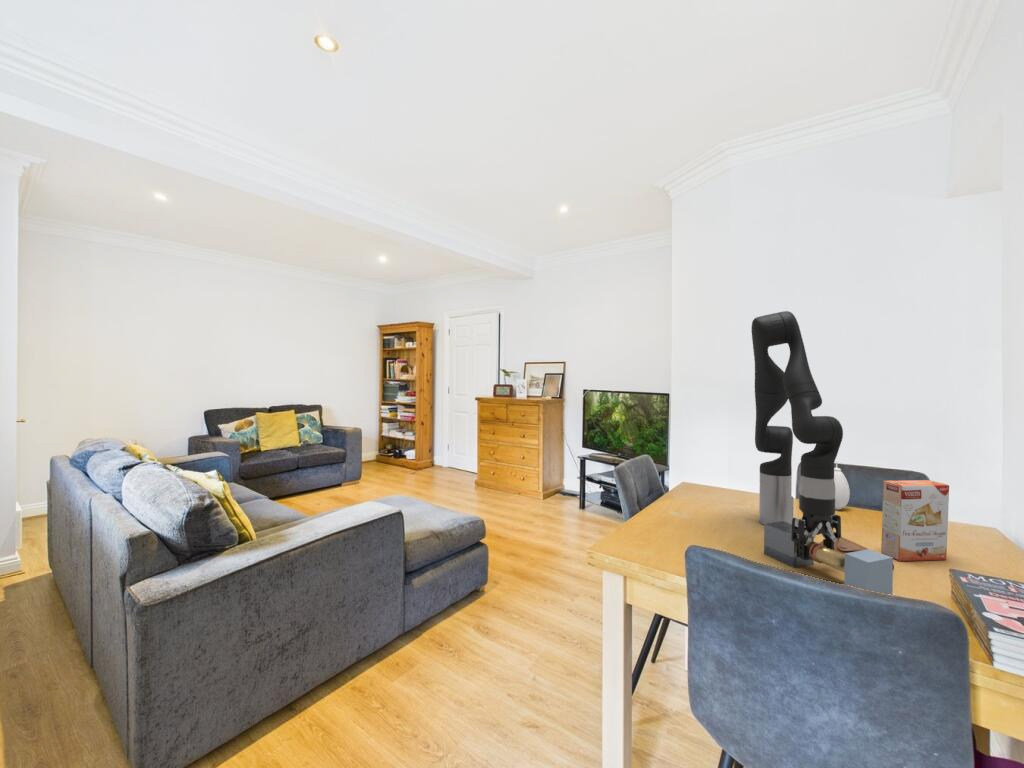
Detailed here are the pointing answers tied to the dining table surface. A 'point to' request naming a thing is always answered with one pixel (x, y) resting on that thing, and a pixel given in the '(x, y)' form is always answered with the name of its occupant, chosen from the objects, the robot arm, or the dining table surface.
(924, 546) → the cracker box
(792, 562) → the sleeve
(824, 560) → the rod
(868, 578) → the socket
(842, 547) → the sunglasses case
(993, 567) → the dining table surface
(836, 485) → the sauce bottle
